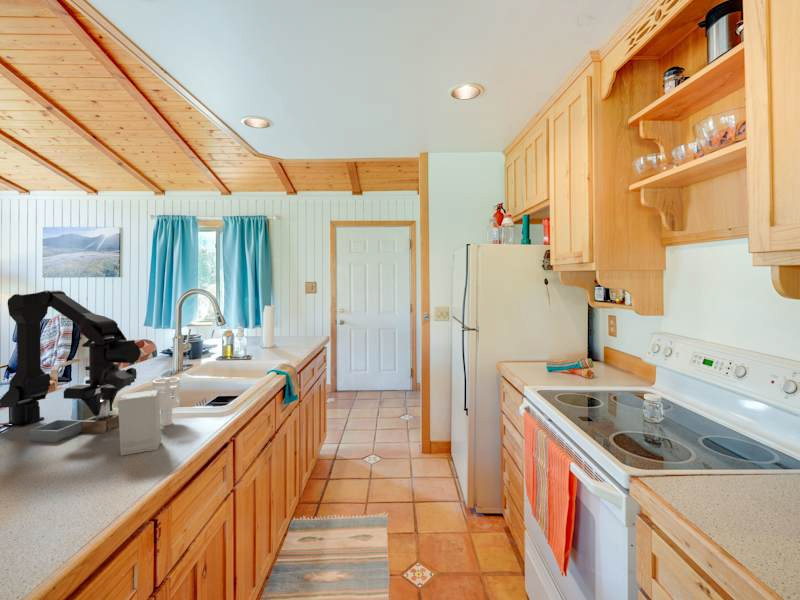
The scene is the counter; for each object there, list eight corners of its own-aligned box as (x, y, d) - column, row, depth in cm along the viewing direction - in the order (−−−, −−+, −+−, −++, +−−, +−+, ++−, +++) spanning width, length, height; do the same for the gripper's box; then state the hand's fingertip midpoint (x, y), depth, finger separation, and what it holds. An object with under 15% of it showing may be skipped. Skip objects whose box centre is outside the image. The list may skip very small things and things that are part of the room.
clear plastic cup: (153, 430, 107) (153, 380, 107) (151, 422, 113) (151, 375, 112) (181, 424, 112) (181, 377, 111) (178, 418, 117) (177, 372, 117)
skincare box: (161, 441, 99) (161, 388, 99) (157, 451, 94) (157, 394, 94) (123, 447, 96) (123, 392, 95) (117, 457, 90) (117, 398, 90)
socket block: (81, 431, 105) (81, 421, 105) (101, 422, 112) (101, 413, 112) (103, 432, 105) (103, 422, 105) (121, 423, 111) (121, 414, 111)
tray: (29, 440, 98) (29, 430, 98) (58, 429, 106) (58, 419, 106) (57, 441, 98) (57, 431, 98) (83, 430, 106) (83, 420, 106)
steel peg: (91, 428, 107) (91, 401, 106) (101, 424, 110) (101, 398, 110) (103, 428, 106) (102, 402, 106) (112, 424, 110) (112, 398, 110)
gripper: (100, 369, 98) (101, 426, 98) (150, 356, 117) (150, 404, 117) (61, 368, 98) (62, 424, 99) (117, 355, 117) (117, 402, 118)
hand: (102, 413), depth 108 cm, fingers closed on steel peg, 3 cm apart
